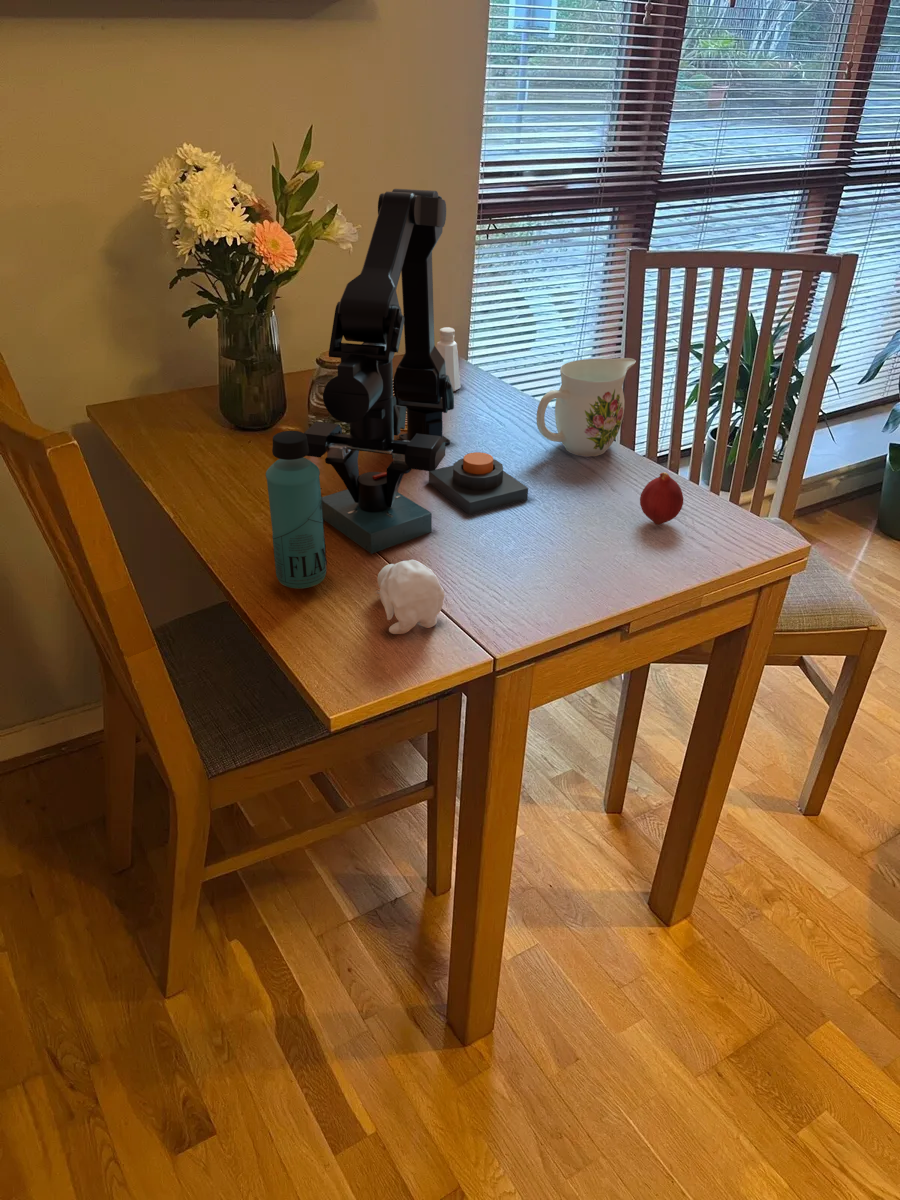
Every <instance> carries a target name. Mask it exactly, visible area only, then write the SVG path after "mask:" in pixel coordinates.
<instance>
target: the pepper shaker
mask: <svg viewBox="0 0 900 1200" xmlns="http://www.w3.org/2000/svg"><path fill="white" fill-rule="evenodd" d="M438 332H439V341H437V342H436V346H435V347H436V348H437V350H438V351H439V353H440V354H441V356H442V357H443V358H444V360H445V367H446V375H448V376H449V379H450V382H451V385H452V388H453V392H456V391H457V390H459V389H461V388H462V387H461V376H460V375H461V373H460V362H459V352H458V343H457V342H456V341H455V332H456V330H455V328H453V327H449V326H445V327H441V328H440V329H439V331H438Z"/></svg>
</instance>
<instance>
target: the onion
mask: <svg viewBox="0 0 900 1200" xmlns="http://www.w3.org/2000/svg"><path fill="white" fill-rule="evenodd" d="M639 505H640V508H641V510H642V513H643V514H644V515H645V516H646V517H647V518H648V519H649V520H650V521H652V523H653V524H654V525H656V526H660V525H663V524H664V523H668V522H669V521H670V522H671V521H672V520H673V519H675V518H676V517H677V516H678V515H679V513H680V512H681V511H682V508H683V505H684V494H683V491H682V488H681V486H680V485H679V484H678V482H677V481H676V480H674V479H673V478H672V477H671V476H670V474H669V473H667V472H665V471H663V472H660V473H659V477H655V478H653V479H652V480H651V481H649V482H648V483H646V485H645V486H644V488H643V490H642V491H641V493H640V497H639Z"/></svg>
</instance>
